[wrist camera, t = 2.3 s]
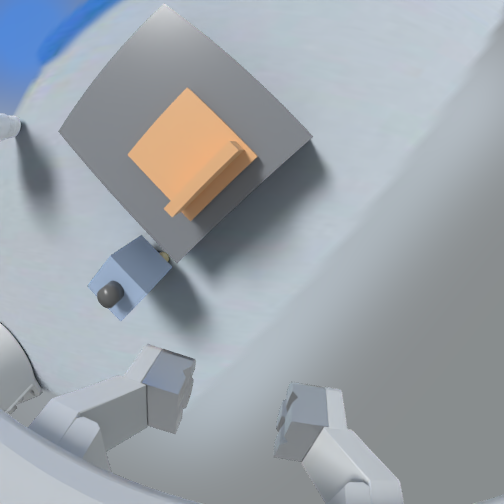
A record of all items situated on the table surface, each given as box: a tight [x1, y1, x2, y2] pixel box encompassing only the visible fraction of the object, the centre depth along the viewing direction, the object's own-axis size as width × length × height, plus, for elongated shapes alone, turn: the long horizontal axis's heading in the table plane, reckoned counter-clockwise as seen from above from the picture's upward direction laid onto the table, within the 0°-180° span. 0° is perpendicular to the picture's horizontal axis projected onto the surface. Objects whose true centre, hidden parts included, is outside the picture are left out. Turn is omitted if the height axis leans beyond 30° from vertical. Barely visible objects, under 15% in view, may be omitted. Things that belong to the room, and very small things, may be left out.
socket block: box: [58, 4, 313, 263], centre depth 23 cm, size 14×16×4 cm
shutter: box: [128, 87, 258, 221], centre depth 20 cm, size 7×7×3 cm
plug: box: [88, 235, 172, 321], centre depth 25 cm, size 4×4×8 cm
